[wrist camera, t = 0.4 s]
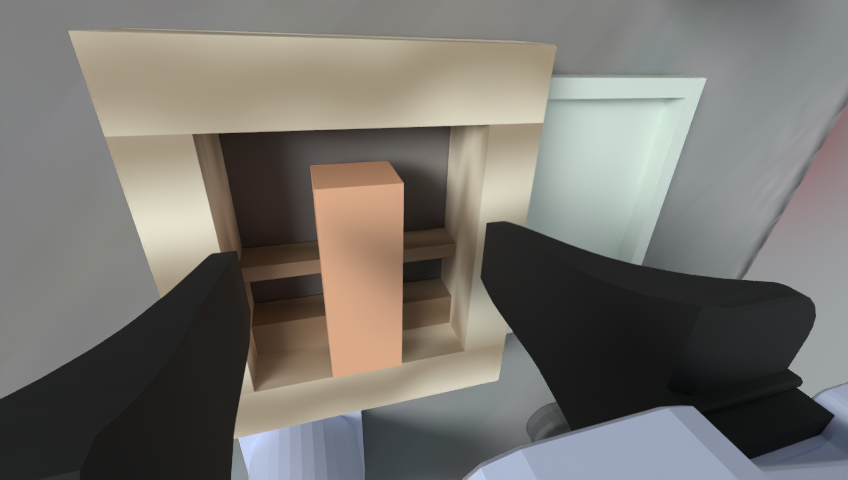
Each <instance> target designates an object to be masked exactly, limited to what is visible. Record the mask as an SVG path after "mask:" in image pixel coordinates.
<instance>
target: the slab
mask: <svg viewBox="0 0 848 480" xmlns="http://www.w3.org/2000/svg"><path fill="white" fill-rule="evenodd" d="M310 170H311V179H312V189H313V198H314V208H315V217H316V227H317V237H318V246H319V256H320V265H321V275H322V284H323V294H324V303H325V313H326V322H327V332H328V341H329V349H330V357H331V365H332V373H333V379H335V378H340V377H345V376H350V375H355V374H360V373H365V372H370V371H375V370H380V369H385V368H390V367H395V366H401V365H402V302H403V216H404V183H403V181H402V180H401V179H400V177H399V176H398V174H397V173H396V171H395V170H394V169H393V167H392V166H391V164H390V163H389V162H388V161H378V162H360V163H341V164H323V165H310Z"/></svg>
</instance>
